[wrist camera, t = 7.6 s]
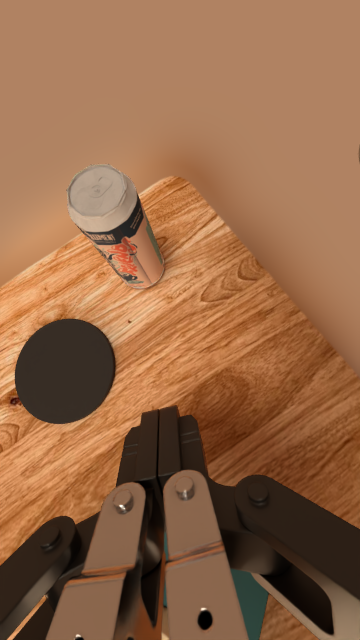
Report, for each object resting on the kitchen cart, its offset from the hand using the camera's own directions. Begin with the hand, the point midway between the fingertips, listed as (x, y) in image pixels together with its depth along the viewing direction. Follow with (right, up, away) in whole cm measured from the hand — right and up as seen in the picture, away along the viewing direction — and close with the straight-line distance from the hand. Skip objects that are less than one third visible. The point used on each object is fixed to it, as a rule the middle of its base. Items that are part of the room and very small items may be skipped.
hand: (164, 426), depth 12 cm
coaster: (-11, 0, +16) cm, 19 cm away
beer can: (-3, +10, +18) cm, 20 cm away
